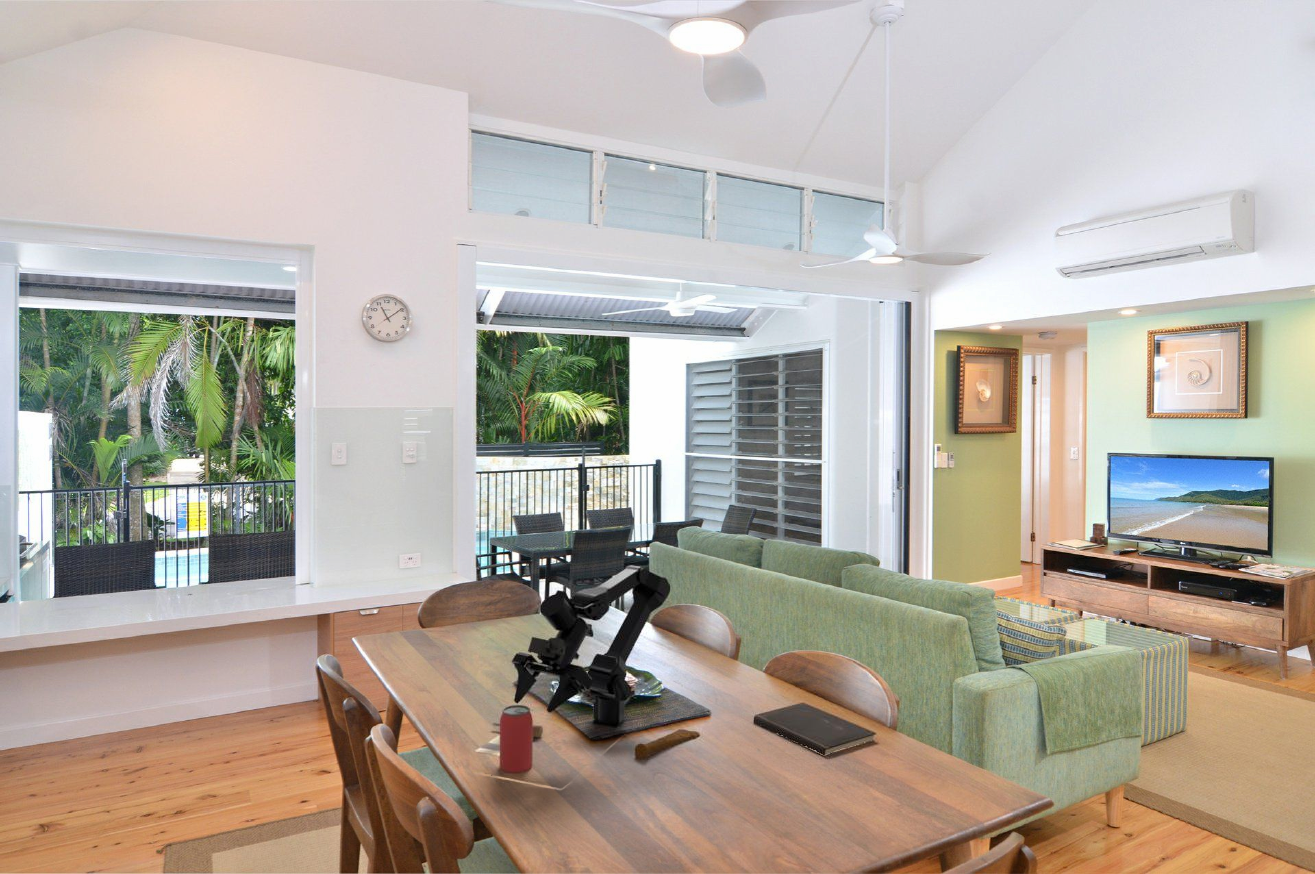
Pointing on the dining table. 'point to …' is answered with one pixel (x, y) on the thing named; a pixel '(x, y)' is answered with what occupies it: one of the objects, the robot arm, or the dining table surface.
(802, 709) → the hardcover book
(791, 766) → the dining table surface
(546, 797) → the dining table surface
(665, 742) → the primitive tool
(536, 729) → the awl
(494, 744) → the plywood offcut
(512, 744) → the beer can
